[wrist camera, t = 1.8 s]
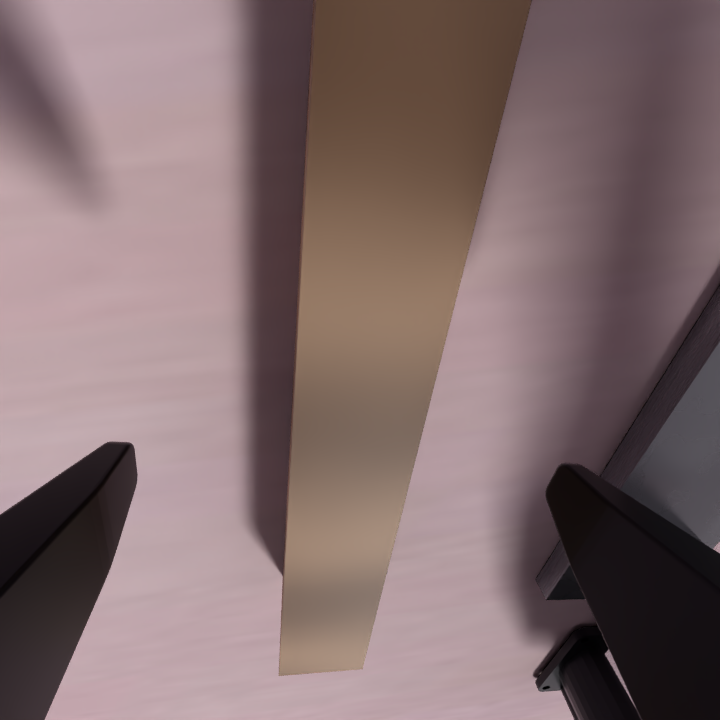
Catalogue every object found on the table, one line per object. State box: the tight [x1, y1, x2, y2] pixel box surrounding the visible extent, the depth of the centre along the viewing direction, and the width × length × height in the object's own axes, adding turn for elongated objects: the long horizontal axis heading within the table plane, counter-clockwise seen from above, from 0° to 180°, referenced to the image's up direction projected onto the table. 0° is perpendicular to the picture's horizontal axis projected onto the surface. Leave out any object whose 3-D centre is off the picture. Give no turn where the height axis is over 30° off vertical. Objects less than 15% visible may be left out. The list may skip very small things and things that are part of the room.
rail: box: [279, 0, 532, 676], centre depth 11 cm, size 22×3×4 cm, turn 173°
